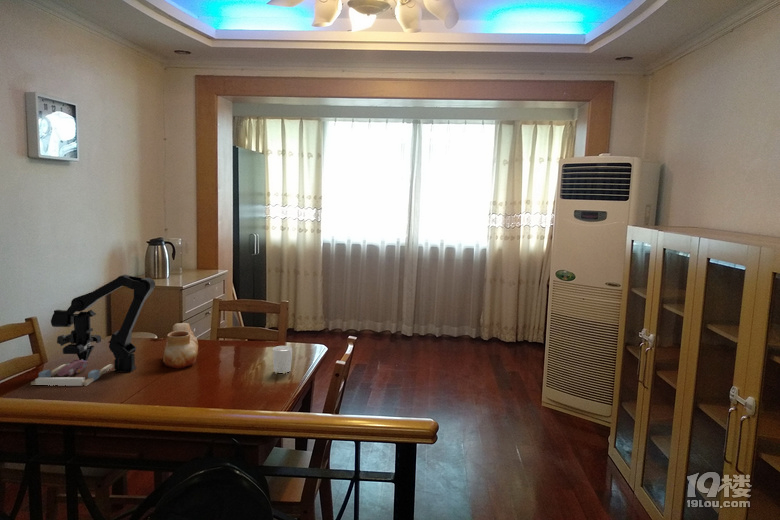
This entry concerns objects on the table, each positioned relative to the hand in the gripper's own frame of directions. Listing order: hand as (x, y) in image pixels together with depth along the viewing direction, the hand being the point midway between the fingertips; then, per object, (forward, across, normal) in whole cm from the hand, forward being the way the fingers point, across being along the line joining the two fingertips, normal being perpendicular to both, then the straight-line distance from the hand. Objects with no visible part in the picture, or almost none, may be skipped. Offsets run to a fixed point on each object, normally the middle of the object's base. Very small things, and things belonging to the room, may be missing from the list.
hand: (83, 364), depth 204 cm
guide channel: (+2, +7, 0) cm, 7 cm away
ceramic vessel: (+3, -15, +34) cm, 37 cm away
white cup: (+2, +1, +79) cm, 79 cm away
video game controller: (+2, +5, -1) cm, 6 cm away
